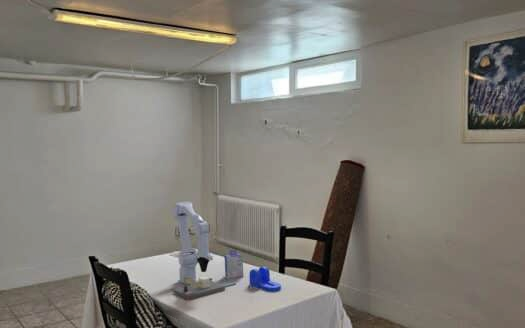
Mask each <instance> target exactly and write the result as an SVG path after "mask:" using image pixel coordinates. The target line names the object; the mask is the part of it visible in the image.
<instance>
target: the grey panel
mask: <svg viewBox="0 0 525 328" xmlns="http://www.w3.org/2000/svg"><path fill="white" fill-rule="evenodd" d="M215 282H216V281H212V280H211V281H210V285H211V287H208V288H204V289H202V288H200V287H197V286H194V285H192V284H188V291H184V286H181V287H177V288H175V289H173V294H175V295H176V296H178V297H181V298H182V299H185V300H187V301H189V300H190V301H191V300H193V299H194V300H195V299H197V298H202V297H204V296H208V295H212V294H215V293H219V291H220V292H222V290H223V291H225V290H226V287H225V286H223V285H221V284H218V283H215Z"/></svg>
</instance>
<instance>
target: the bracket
mask: <svg viewBox="0 0 525 328" xmlns="http://www.w3.org/2000/svg"><path fill="white" fill-rule="evenodd" d="M270 275H271V273H270V270H269V268H268V267H267V266H264V265H263V266H260V267H259V268H253V269H250V271H249V285H250V286H253V287H256V288H258V289H261V290H265V291H267V292H278V291H280V290H281V289H282V284H281V283H279V282H276V281H273V280H271V276H270Z"/></svg>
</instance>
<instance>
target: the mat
mask: <svg viewBox="0 0 525 328" xmlns="http://www.w3.org/2000/svg"><path fill="white" fill-rule="evenodd" d="M214 282H215V283H218V284H221V285H223V286H225V288H228V287H231V286H235V285H236V282H233V281H230V280H227V279H223V280H219V281H214Z"/></svg>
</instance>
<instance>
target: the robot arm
mask: <svg viewBox="0 0 525 328" xmlns="http://www.w3.org/2000/svg"><path fill="white" fill-rule="evenodd" d="M172 212H173V213H172V214H173V217H174V219H176V221H177V222H176V223H177V225H178V231H179V236H180V243H181V247H182V249H181V250H180V251H179V252H178V264H179V270H178V271H179V272H178V273H179V279H178V280H177V281H178V282H180V283H181V284H184V278H188V279H191V280H194V281H197V282H199V279H197V272H196V270H197V269H196V268H197V267H196V266H197V265H199V268H200V272H201V273H206V272H207V269H208V265H209V262H210V261H214V260H213V259H214V257H213V256H212V255H211V254H210V251H209V249H210V248H209V245H210V244H209V233H210V232H211V225H210V223H209V221H205V220H204V219H203V218H202V217H201V216H200V214H199V213H198V214H197V213H196V212H195V210H194V205H193V202H191V201H184V202H183V201H182V202H174V203H173V207H172ZM188 218H189V219H190V220H189V221H190V223H191V225H192V226H193V227H194V231H195V237H196V238H197V239H196V240H197V244H196V245H197V250H196V248H194V247H192V242H191V237H190V232H189V231H190V230H189V226H188V223H187V222H188V221H187V219H188ZM188 285H190V284H189V283H188Z"/></svg>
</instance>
